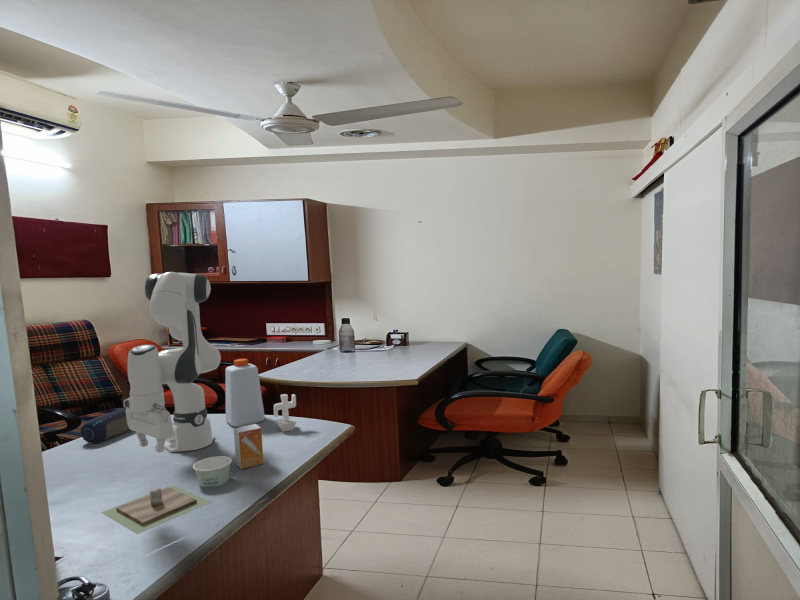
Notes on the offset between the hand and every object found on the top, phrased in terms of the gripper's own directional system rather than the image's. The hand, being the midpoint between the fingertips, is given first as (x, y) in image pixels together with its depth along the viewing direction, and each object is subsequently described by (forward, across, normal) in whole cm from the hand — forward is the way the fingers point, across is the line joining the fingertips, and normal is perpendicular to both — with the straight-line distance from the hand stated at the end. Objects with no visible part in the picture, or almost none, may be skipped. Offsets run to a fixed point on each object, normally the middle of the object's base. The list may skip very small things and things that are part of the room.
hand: (151, 448), depth 155 cm
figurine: (+18, +24, -68) cm, 74 cm away
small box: (+18, +5, -36) cm, 41 cm away
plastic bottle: (+18, +50, -66) cm, 85 cm away
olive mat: (+18, 0, 0) cm, 18 cm away
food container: (+18, +2, -20) cm, 27 cm away
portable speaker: (+18, +86, -24) cm, 91 cm away
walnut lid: (+18, 0, 0) cm, 18 cm away
